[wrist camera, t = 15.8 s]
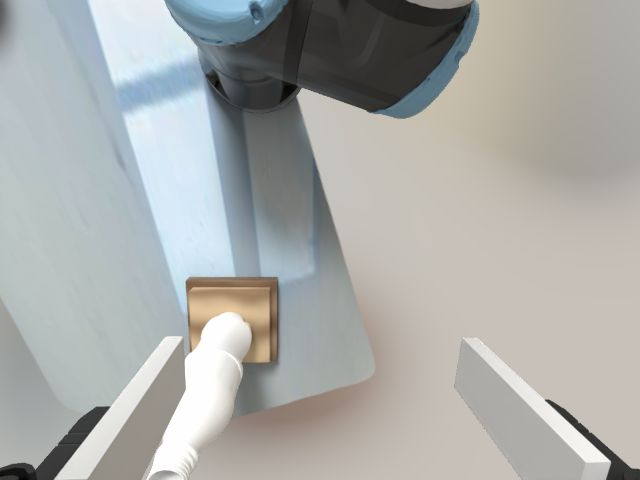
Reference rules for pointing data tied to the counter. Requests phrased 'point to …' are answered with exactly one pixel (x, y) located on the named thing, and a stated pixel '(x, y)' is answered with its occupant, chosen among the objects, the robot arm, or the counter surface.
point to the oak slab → (238, 300)
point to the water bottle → (204, 396)
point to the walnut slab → (241, 282)
